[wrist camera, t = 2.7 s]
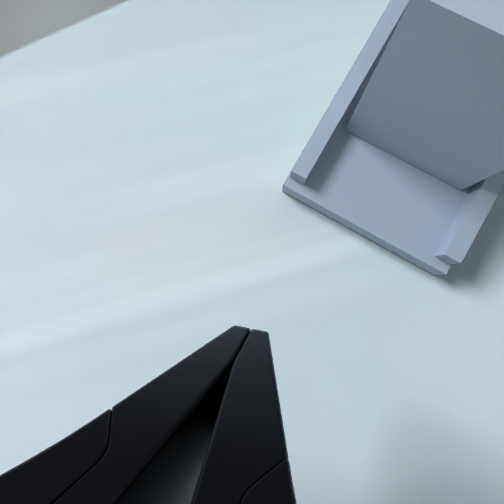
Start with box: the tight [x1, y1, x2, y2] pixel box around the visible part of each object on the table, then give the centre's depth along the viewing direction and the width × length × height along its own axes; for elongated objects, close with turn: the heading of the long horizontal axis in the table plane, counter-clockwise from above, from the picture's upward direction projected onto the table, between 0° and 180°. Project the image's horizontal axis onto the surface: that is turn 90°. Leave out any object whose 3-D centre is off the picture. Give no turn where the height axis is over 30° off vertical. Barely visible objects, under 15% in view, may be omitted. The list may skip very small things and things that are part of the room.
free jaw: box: [345, 0, 504, 190], centre depth 13 cm, size 2×6×8 cm, turn 59°
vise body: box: [282, 0, 504, 275], centre depth 14 cm, size 17×9×8 cm, turn 150°
